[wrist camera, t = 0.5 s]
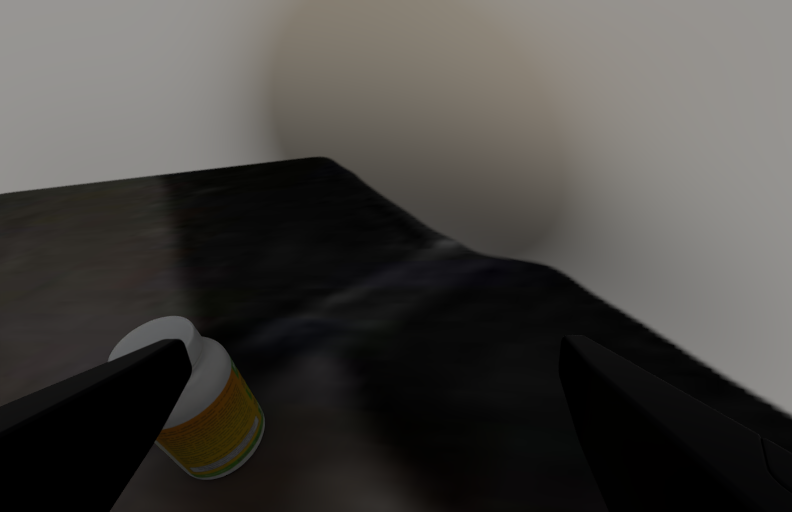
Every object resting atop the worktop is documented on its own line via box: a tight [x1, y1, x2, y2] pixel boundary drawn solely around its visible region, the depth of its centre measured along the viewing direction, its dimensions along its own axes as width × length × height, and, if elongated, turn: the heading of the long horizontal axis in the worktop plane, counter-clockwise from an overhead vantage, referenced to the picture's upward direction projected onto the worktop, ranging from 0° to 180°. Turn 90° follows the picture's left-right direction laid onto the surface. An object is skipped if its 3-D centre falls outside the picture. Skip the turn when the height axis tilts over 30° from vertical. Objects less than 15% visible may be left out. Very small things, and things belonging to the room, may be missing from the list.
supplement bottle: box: [108, 316, 265, 480], centre depth 21 cm, size 5×5×10 cm
